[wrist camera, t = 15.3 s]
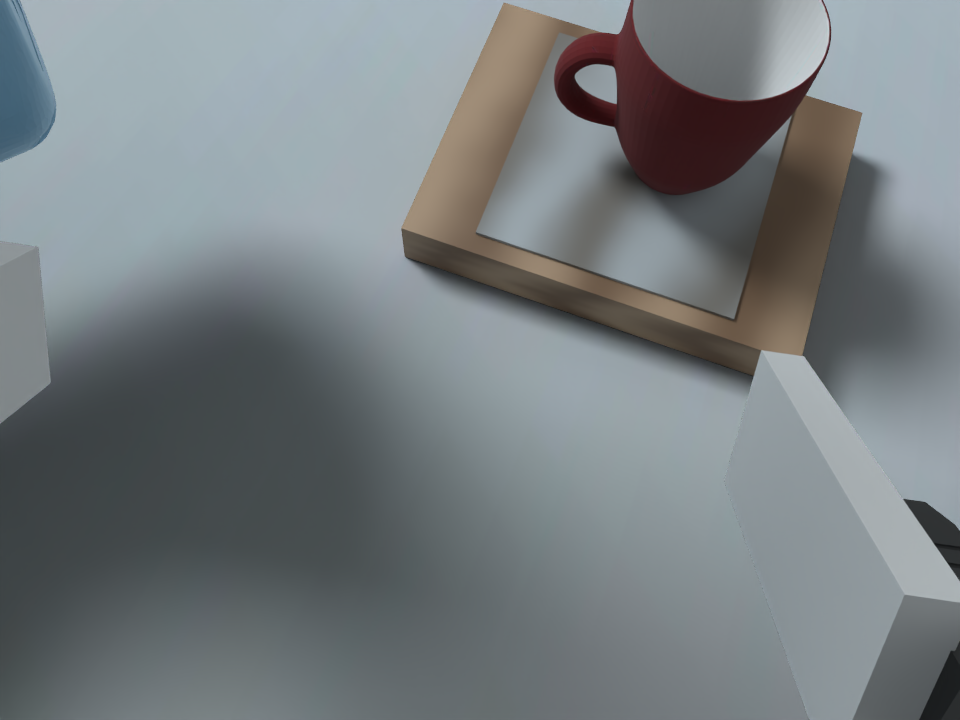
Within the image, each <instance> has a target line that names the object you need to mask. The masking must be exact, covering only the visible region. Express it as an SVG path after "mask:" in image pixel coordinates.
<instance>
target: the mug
mask: <svg viewBox="0 0 960 720" xmlns="http://www.w3.org/2000/svg"><path fill="white" fill-rule="evenodd" d="M830 41H831V25H830V19H829V15H828V12H827V9H826V6H825V4H824V2H823V0H631V2H630V6H629V9H628V12H627V16H626V19H625V22H624V25H623V28H622V30H621V32H620V33H619V34H617V35H616V34H610V33H591V34H587V35H584V36H582V37H580V38H578V39H576V40H574V41H573V42H572V43H571V44H570V45H568V46H567V48H566V49H565V50H564V51H563V52H562V54H561V55H560V57H559V59H558V62H557V64H556V67H555V73H554V87H555V91H556V94H557V97H558V99H559V100H560V102H561V103H562V104H563V105H564V106H565V108H566V109H567V110H569V111H570V112H571V113H572V114H574V115H576V116H578V117H580V118H582V119H584V120H587V121H590V122H594V123H597V124H602V125H606V126H611V127H614V128H615V129H616V132H617V135H618V138H619V142H620V144H621V147H622V150H623V152H624V154H625V156H626V158H627V160H628V162H629V163H630V165H631V167H632V168H633V170H634V171H635V173H636V174H637V176H638V177H639V178H640V179H641V181H642V182H644V183H645V184H646V185H647V186H649V187H650V188H652V189H654V190H656V191H658V192H661V193H664V194H669V195H684V194H689V193H693V192H697V191H701V190H704V189H707V188H710V187H712V186H715V185H717V184H719V183H721V182H723V181H725V180H726V179H728V178H729V177H731V176H732V175H734V174H735V173H736V172H737V171H738V170H739V169H741V168H742V167H743V166H744V165H745V164H746V163H747V162H748V160H749V159H750V158H751V157H752V156H753V155H754V154H755V153H756V152H757V151H758V150H759V149H760V148H761V147H762V146H763V145H764V144H765V143H766V142H767V141H768V140H769V139H770V138H771V137H772V136H773V135H774V134H775V133H776V132H777V131H778V130H779V129H780V128H781V127H782V126H783V124H784V123H785V122H786V121H787V120H788V119H789V118H790V117H791V115H792V114H793V113H794V111H795V110H796V109H797V107H798V106H799V104H800V103H801V102H802V100H803V98H804V97H805V95H806V93H807V92H808V90H809V88H810V87H811V85H812V83H813V81H814V80H815V78H816V76H817V74H818V72H819V70H820V69H821V67H822V65H823V63H824V61H825V59H826V56H827V54H828V50H829V47H830ZM594 64H601V65H608V66H612V67H614V69H615V72H616V80H617V104H614V103H611V102H607V101H605V100H602V99H600V98H597V97H595V96H593V95H591V94H590V93H588V92H586V91H585V90H584V89H582V88H581V87H580V86H579V85H578V83H577V82H576V79H575V74H576V73H577V72H578V71H579V70H580V69H582V68H584V67H586V66H589V65H594Z"/></svg>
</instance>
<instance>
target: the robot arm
mask: <svg viewBox="0 0 960 720" xmlns="http://www.w3.org/2000/svg"><path fill="white" fill-rule="evenodd" d="M55 115H56V101H55V96H54V92H53V89H52V86H51V82H50V79H49V76H48V73H47V70H46V67H45V65H44V62H43V59H42V56H41V54H40V51H39V48H38V46H37V43H36V40H35V38H34V35H33V33H32V30H31V27H30V25H29V22H28V20H27V17H26V15H25V12H24V10H23V7H22V5H21V2H20V0H0V162H3V161H5V160H7V159H10V158H12V157H14V156H17V155H19V154H21V153H24V152H26V151H28V150H31V149H32V148H34V147H35V146H37V145H38V144H39V143H41V142H42V141H43V140H44V139H45V138H46V137H47V135H48V133H49V131H50V129H51V127H52V125H53V123H54V121H55ZM50 383H51V377H50V367H49V356H48V345H47V334H46V324H45V313H44V302H43V292H42V281H41V270H40V259H39V249H38V247H37V246H30V245H23V244H16V243H9V242H2V241H0V424H1V423H2V422H3V421H4V420H6V419H7V418H8V417H9V416H11V415H12V414H13V413H14V412H16V411H17V410H18V409H19V408H20V407H22V406H23V405H24V404H25V403H27V402H28V401H29V400H30V399H32V398H33V397H34V396H35V395H37V394H38V393H39V392H40V391H42V390H43V389H44V388H45V387H47V386H48V385H49V384H50ZM724 483H725V486H726V488H727V491H728V494H729V497H730V500H731V502H732V505H733V508H734V511H735V514H736V516H737V519H738V522H739V525H740V528H741V530H742V533H743V536H744V539H745V542H746V544H747V547H748V550H749V553H750V556H751V558H752V561H753V564H754V567H755V570H756V572H757V575H758V578H759V581H760V584H761V586H762V589H763V592H764V595H765V598H766V600H767V603H768V606H769V609H770V612H771V614H772V617H773V620H774V623H775V626H776V628H777V631H778V634H779V637H780V640H781V642H782V645H783V648H784V651H785V654H786V656H787V659H788V662H789V665H790V668H791V670H792V673H793V676H794V679H795V682H796V684H797V687H798V690H799V693H800V696H801V698H802V701H803V704H804V707H805V710H806V712H807V715H808V718H809V720H960V531H959V529H958V528H957V527H956V525H955V524H953V523H952V522H951V521H949V520H948V519H947V518H945V517H944V516H943V515H941V514H940V513H939V512H938V511H936V510H935V509H934V508H932V507H931V506H930V505H928V504H927V503H926V502H921V501H914V500H907V499H902V497H901V496H900V494H899V493H898V491H897V490H896V488H895V487H894V486H893V484H892V483H891V481H890V480H889V478H888V477H887V475H886V474H885V473H884V471H883V470H882V468H881V467H880V465H879V464H878V462H877V461H876V460H875V458H874V457H873V455H872V454H871V452H870V451H869V449H868V448H867V447H866V445H865V444H864V442H863V441H862V439H861V438H860V436H859V435H858V434H857V432H856V431H855V429H854V428H853V426H852V425H851V423H850V422H849V421H848V419H847V418H846V416H845V415H844V413H843V412H842V410H841V409H840V408H839V406H838V405H837V403H836V402H835V400H834V399H833V397H832V396H831V395H830V393H829V392H828V390H827V389H826V387H825V386H824V384H823V383H822V382H821V380H820V379H819V377H818V376H817V374H816V373H815V371H814V370H813V369H812V367H811V366H810V364H809V363H808V361H807V360H806V358H805V357H804V356H798V355H791V354H784V353H777V352H770V351H763V350H761V353H760V356H759V360H758V363H757V367H756V370H755V374H754V377H753V381H752V384H751V388H750V391H749V395H748V398H747V402H746V405H745V409H744V412H743V416H742V419H741V423H740V426H739V430H738V433H737V437H736V440H735V444H734V447H733V451H732V454H731V458H730V461H729V465H728V468H727V472H726V475H725V479H724Z"/></svg>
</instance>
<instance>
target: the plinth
mask: <svg viewBox="0 0 960 720" xmlns="http://www.w3.org/2000/svg"><path fill="white" fill-rule="evenodd" d="M591 33H601V32H598V31H595V30H591V29H588V28H585V27H582V26H578V25H575V24H572V23H569V22H565V21H562V20H559V19H556V18H552V17H549V16H546V15H543V14H539V13H536V12H533V11H530V10H526V9H523V8H520V7H517V6H513V5H510V4H507V3H504V4H503V6H502V8H501V10H500V12H499V15H498V17H497V19H496V21H495V23H494V26H493V28H492V30H491V32H490V34H489V37H488V39H487V41H486V43H485V45H484V48H483V50H482V52H481V54H480V56H479V59H478V61H477V63H476V65H475V67H474V70H473V72H472V74H471V76H470V78H469V81H468V83H467V85H466V87H465V89H464V92H463V94H462V96H461V98H460V100H459V103H458V105H457V107H456V109H455V111H454V114H453V116H452V118H451V120H450V122H449V125H448V127H447V129H446V131H445V133H444V136H443V138H442V140H441V142H440V144H439V147H438V149H437V151H436V153H435V155H434V158H433V160H432V162H431V164H430V166H429V169H428V171H427V173H426V175H425V177H424V180H423V182H422V184H421V186H420V188H419V191H418V193H417V195H416V197H415V199H414V202H413V204H412V206H411V208H410V210H409V213H408V215H407V217H406V219H405V221H404V224H403V226H402V228H401V229H402V237H403V245H404V253H405V257H408V258H411V259H413V260H416V261H419V262H422V263H425V264H428V265H431V266H434V267H437V268H440V269H443V270H446V271H448V272H451V273H454V274H457V275H460V276H463V277H466V278H469V279H472V280H475V281H478V282H481V283H483V284H486V285H489V286H492V287H495V288H498V289H501V290H504V291H507V292H510V293H513V294H516V295H518V296H521V297H524V298H527V299H530V300H533V301H536V302H539V303H542V304H545V305H548V306H551V307H553V308H556V309H559V310H562V311H565V312H568V313H571V314H574V315H577V316H580V317H583V318H586V319H588V320H591V321H594V322H597V323H600V324H603V325H606V326H609V327H612V328H615V329H618V330H621V331H623V332H626V333H629V334H632V335H635V336H638V337H641V338H644V339H647V340H650V341H653V342H656V343H658V344H661V345H664V346H667V347H670V348H673V349H676V350H679V351H682V352H685V353H688V354H691V355H693V356H696V357H699V358H702V359H705V360H708V361H711V362H714V363H717V364H720V365H723V366H726V367H728V368H731V369H734V370H737V371H740V372H743V373H746V374H749V375H752V376H754V374H755V370H756V367H757V363H758V360H759V356H760V353H761V350H763V351H770V352H777V353H784V354H791V355H798V356H802V354H803V350H804V346H805V342H806V338H807V334H808V330H809V326H810V322H811V318H812V314H813V310H814V306H815V302H816V298H817V294H818V290H819V286H820V282H821V278H822V274H823V269H824V265H825V261H826V257H827V253H828V249H829V245H830V241H831V237H832V233H833V229H834V225H835V221H836V217H837V213H838V209H839V205H840V201H841V197H842V193H843V189H844V185H845V181H846V176H847V172H848V168H849V164H850V160H851V156H852V152H853V148H854V144H855V140H856V136H857V132H858V128H859V124H860V120H861V116H862V113H861V112H858V111H855V110H851V109H848V108H845V107H842V106H838V105H835V104H832V103H829V102H825V101H822V100H819V99H816V98H812V97H809V96H806V95H805V97H804V98H803V100H802V102H801V103H800V104H799V106H798V107H797V109H796V110H795V111H794V113H793V114H792V115H791V117H790V118H789V119H788V120H787V121H786V122H785V123H784V124H783V126H782V127H781V128H780V129H779V130H778V131H777V132H776V133H775V134H774V135H773V136H772V137H771V138H770V139H769V140H768V141H767V142H766V143H765V144H764V145H763V146H762V147H761V148H760V149H759V150H758V151H757V152H756V153H755V154H754V155H753V156H752V157H751V158H750V159H749V160H748V162H747V163H746V164H745V165H744V166H743V167H742V168H741V169H739V170H738V171H737V172H736V173H735V174H734V175H732V176H731V177H729V178H728V179H726V180H725V181H723V182H721V183H719V184H717V185H715V186H712V187H710V188H707V189H704V190H701V191H697V192H693V193H689V194H684V195H669V194H664V193H661V192H658V191H656V190H654V189H652V188H650V187H649V186H647V185H646V184H645V183H644V182H642V181H641V179H640V178H639V177H638V176H637V174H636V173H635V171H634V170H633V168H632V167H631V165H630V163H629V162H628V160H627V158H626V156H625V154H624V152H623V150H622V147H621V144H620V142H619V138H618V135H617V132H616V129H615V128H614V127H611V126H606V125H602V124H597V123H594V122H590V121H587V120H584V119H582V118H580V117H578V116H576V115H574V114H572V113H571V112H570V111H569V110H567V109H566V108H565V106H564V105H563V104H562V103H561V102H560V100H559V99H558V97H557V94H556V91H555V87H554V73H555V67H556V64H557V62H558V59H559V57H560V55H561V54H562V52H563V51H564V50H565V49H566V48H567V46H568V45H570V44H571V43H572V42H573V41H574V40H576V39H578V38H580V37H582V36H584V35H587V34H591ZM575 79H576V82H577V83H578V85H579V86H580V87H581V88H582V89H584V90H585V91H586V92H588V93H590V94H591V95H593V96H595V97H597V98H600V99H602V100H605V101H607V102H611V103H614V104H617V80H616V72H615V69H614V67H612V66H608V65H601V64H594V65H589V66H586V67H584V68H582V69H580V70H579V71H578V72H577V73H576V74H575Z"/></svg>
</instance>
